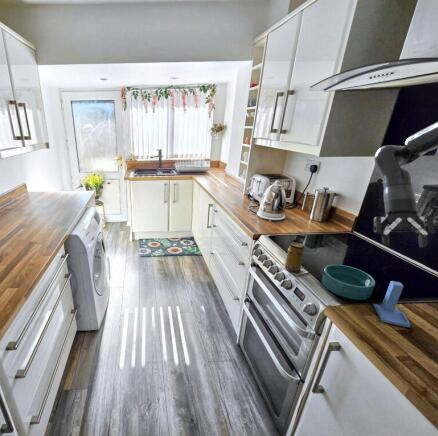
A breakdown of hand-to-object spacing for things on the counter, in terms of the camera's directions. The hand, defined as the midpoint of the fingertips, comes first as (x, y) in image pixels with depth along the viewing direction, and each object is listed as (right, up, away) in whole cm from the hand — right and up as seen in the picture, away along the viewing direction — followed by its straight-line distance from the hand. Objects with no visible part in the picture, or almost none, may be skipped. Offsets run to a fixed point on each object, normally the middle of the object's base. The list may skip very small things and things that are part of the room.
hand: (404, 246), depth 80 cm
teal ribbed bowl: (-9, -18, +14) cm, 24 cm away
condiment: (-21, -14, +27) cm, 37 cm away
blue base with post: (-5, -23, 0) cm, 24 cm away
